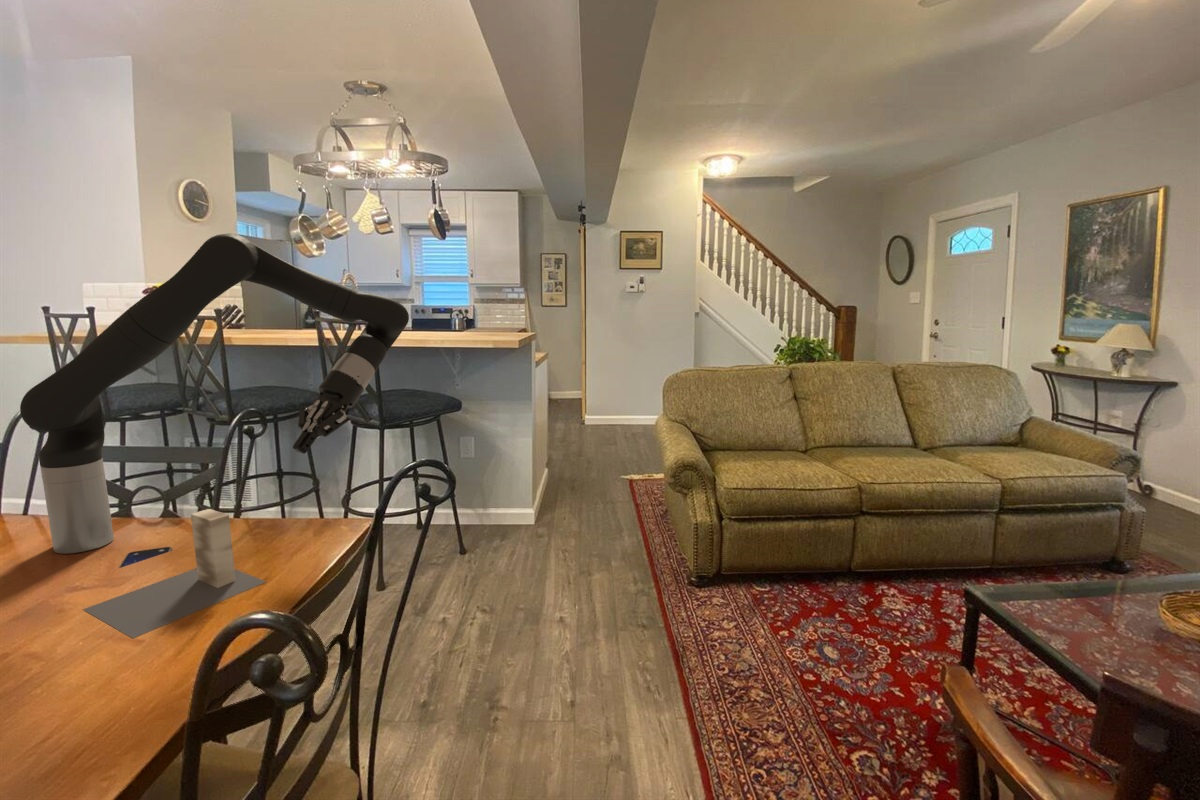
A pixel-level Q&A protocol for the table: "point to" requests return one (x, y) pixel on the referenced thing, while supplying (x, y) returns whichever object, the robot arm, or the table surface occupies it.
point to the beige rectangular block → (213, 547)
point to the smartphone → (143, 555)
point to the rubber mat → (166, 602)
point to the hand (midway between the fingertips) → (298, 450)
